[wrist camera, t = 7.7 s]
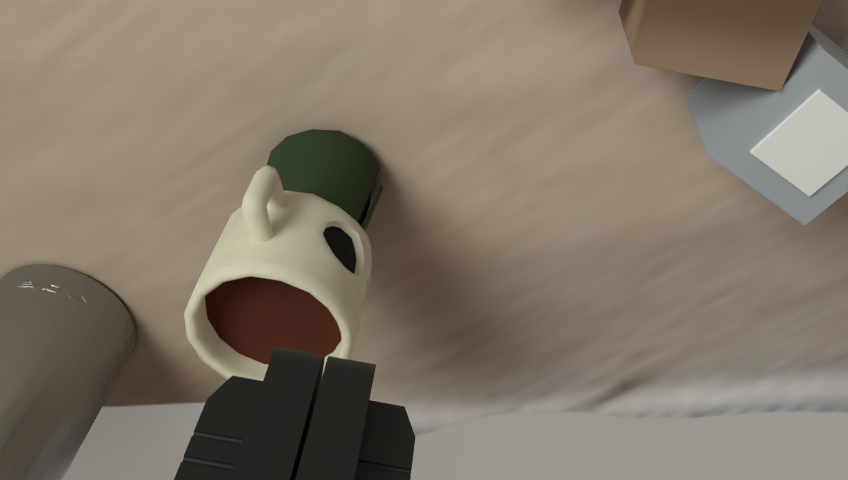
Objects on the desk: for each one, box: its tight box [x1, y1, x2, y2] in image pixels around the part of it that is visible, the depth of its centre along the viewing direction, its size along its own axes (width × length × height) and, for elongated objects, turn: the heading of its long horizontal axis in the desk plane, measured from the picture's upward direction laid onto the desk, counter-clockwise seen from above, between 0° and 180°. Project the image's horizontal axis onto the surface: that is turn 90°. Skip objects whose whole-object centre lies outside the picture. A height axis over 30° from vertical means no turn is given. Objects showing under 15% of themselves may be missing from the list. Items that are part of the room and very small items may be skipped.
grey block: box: [685, 24, 848, 226], centre depth 36 cm, size 6×6×6 cm
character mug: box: [184, 129, 383, 381], centre depth 38 cm, size 11×7×13 cm, turn 7°
